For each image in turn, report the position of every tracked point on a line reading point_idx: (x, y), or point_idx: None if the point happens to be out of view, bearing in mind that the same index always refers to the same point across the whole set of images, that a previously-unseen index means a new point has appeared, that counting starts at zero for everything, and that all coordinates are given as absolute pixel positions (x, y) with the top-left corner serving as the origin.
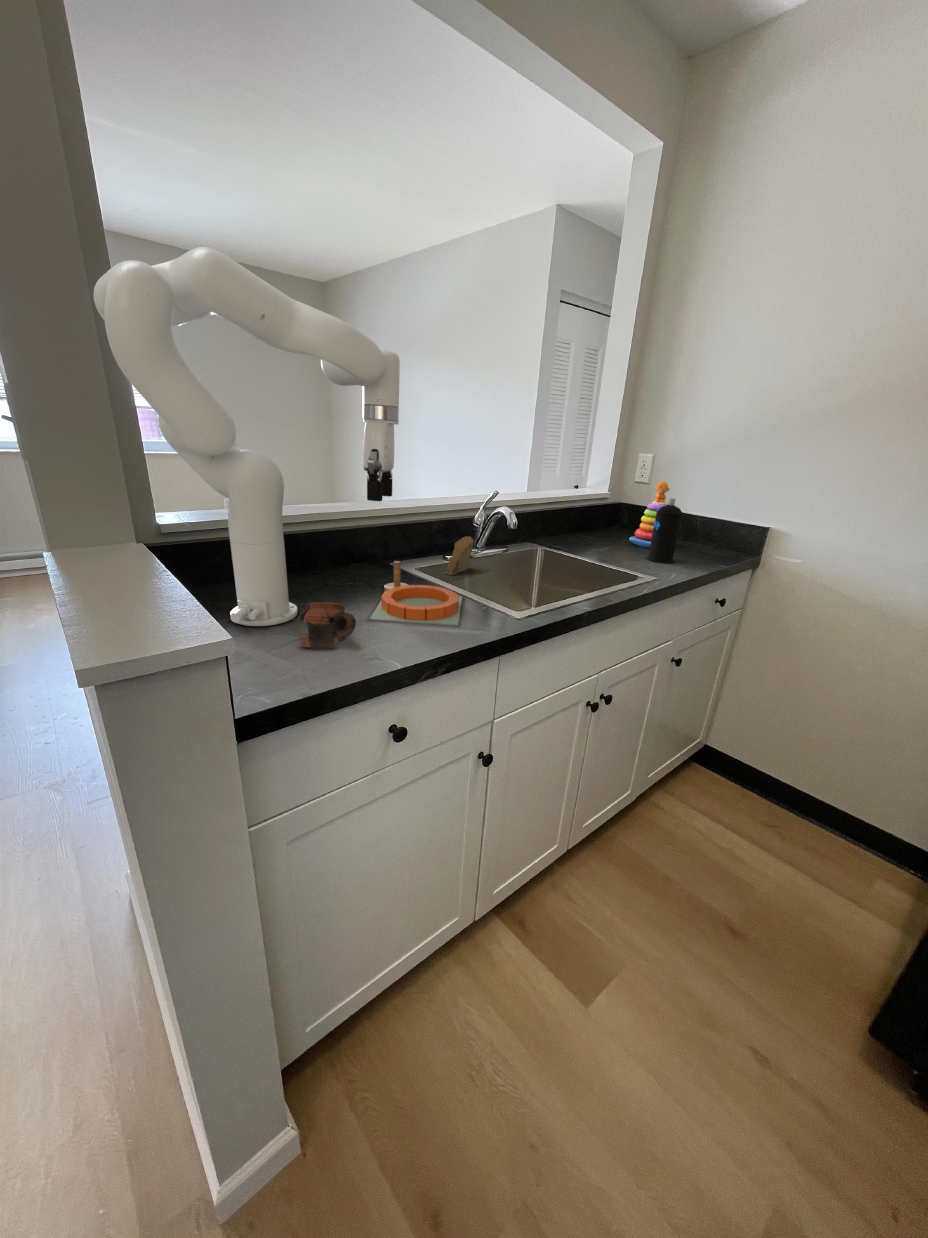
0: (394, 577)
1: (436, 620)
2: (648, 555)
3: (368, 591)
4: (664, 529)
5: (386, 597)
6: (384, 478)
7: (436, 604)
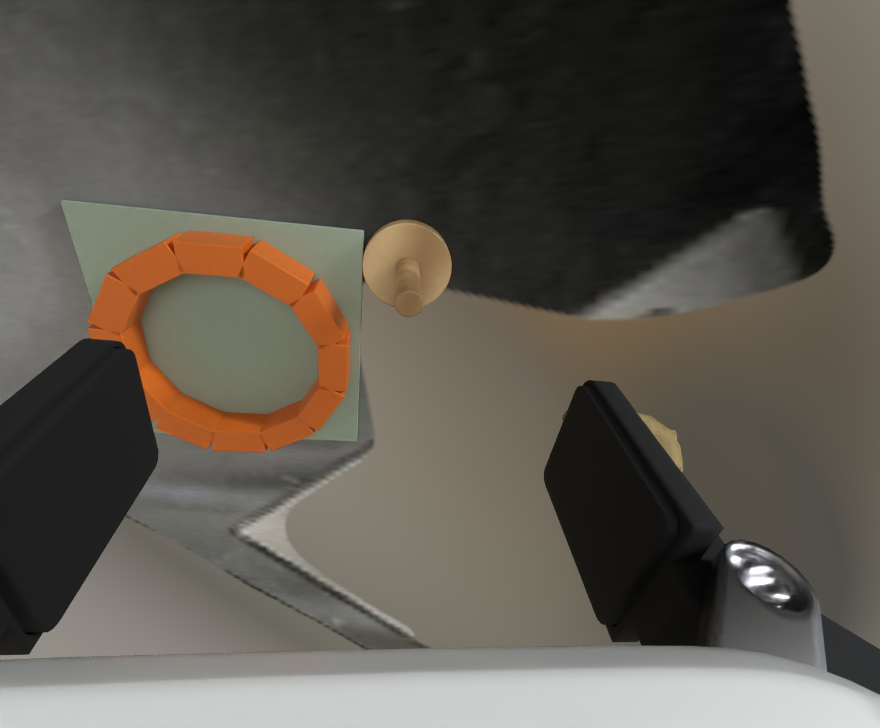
0: (398, 271)
1: None
2: None
3: (376, 157)
4: None
5: (170, 259)
6: (648, 583)
7: (269, 384)
